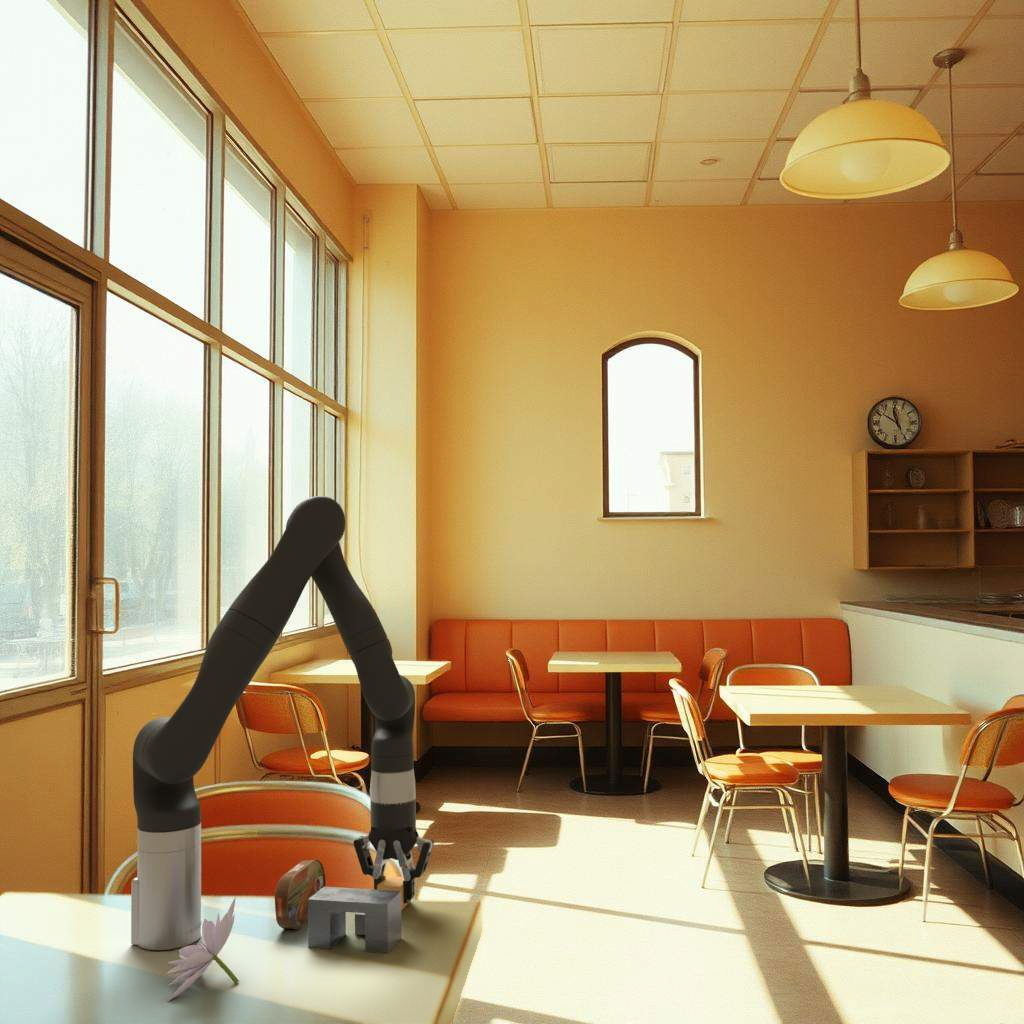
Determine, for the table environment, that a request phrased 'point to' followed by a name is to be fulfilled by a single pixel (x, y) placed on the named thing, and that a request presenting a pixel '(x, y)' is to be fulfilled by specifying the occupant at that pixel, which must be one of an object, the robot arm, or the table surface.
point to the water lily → (204, 952)
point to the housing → (335, 902)
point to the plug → (387, 884)
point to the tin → (297, 893)
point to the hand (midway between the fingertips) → (394, 900)
